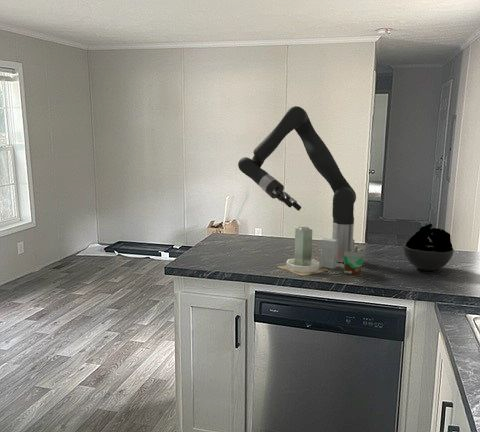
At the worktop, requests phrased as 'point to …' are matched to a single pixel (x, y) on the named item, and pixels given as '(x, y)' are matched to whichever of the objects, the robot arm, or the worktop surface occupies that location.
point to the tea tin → (303, 246)
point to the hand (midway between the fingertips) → (295, 207)
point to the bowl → (302, 269)
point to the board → (302, 273)
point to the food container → (353, 261)
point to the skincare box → (329, 253)
